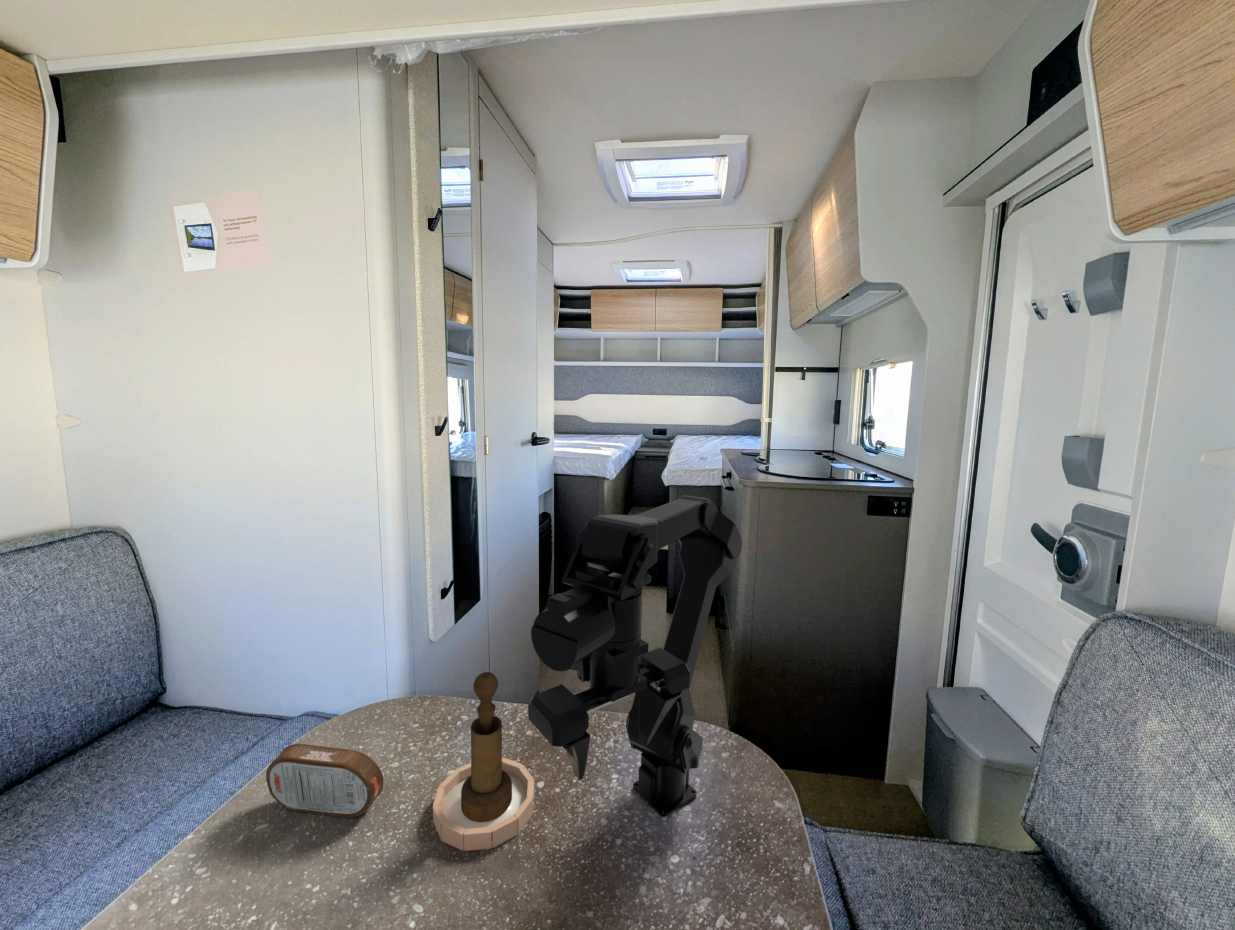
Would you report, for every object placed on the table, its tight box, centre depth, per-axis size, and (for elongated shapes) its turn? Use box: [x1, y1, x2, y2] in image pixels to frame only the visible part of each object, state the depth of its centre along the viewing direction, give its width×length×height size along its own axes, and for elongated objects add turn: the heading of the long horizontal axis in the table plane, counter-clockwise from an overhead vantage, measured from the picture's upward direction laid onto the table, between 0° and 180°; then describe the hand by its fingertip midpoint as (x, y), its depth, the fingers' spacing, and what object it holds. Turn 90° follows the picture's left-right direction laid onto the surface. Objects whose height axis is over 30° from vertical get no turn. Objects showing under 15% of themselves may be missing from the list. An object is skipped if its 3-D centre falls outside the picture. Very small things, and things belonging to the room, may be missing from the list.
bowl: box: [432, 756, 535, 852], centre depth 66 cm, size 13×13×2 cm
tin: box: [265, 742, 385, 818], centre depth 65 cm, size 15×3×8 cm, turn 83°
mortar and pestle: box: [461, 671, 512, 822], centre depth 65 cm, size 7×6×18 cm
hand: (612, 759), depth 57 cm, fingers open, 9 cm apart
